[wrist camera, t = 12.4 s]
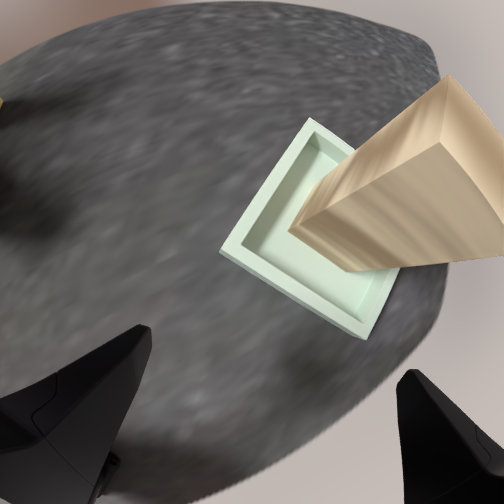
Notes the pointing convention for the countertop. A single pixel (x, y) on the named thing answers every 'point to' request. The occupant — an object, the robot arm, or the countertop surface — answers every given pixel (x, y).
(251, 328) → the countertop surface
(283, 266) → the green tray
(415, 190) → the beech block
